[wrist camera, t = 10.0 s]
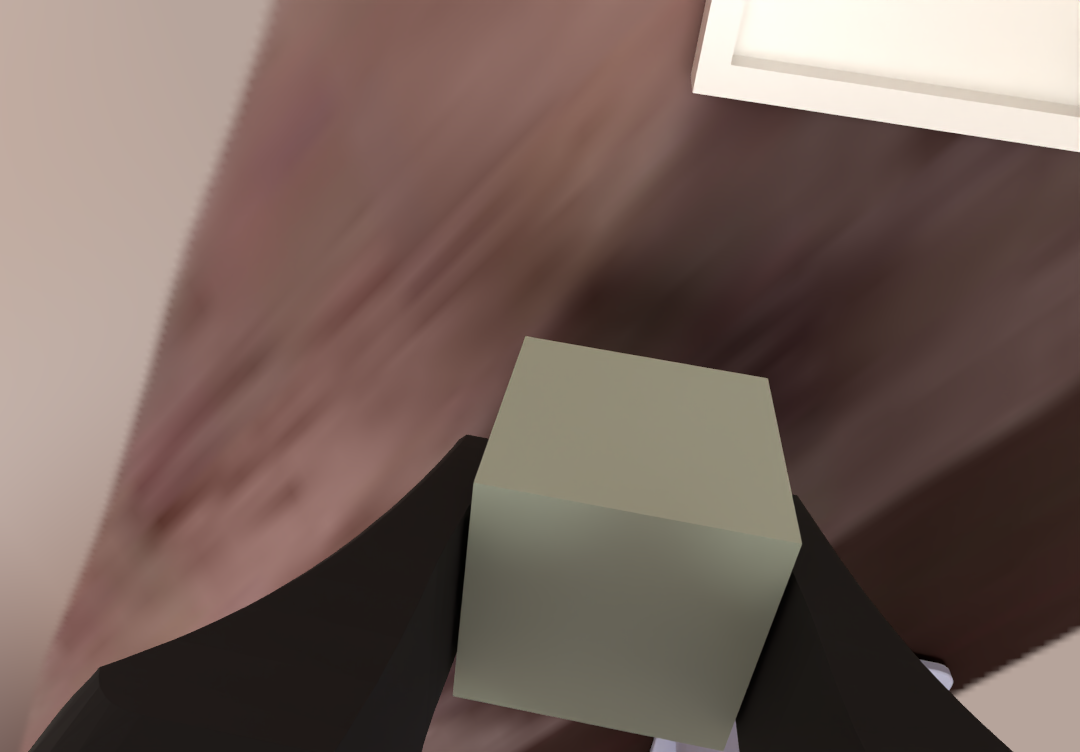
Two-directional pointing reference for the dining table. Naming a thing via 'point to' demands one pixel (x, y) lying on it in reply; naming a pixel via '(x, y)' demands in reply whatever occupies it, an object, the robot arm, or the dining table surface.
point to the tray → (903, 62)
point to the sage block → (625, 543)
